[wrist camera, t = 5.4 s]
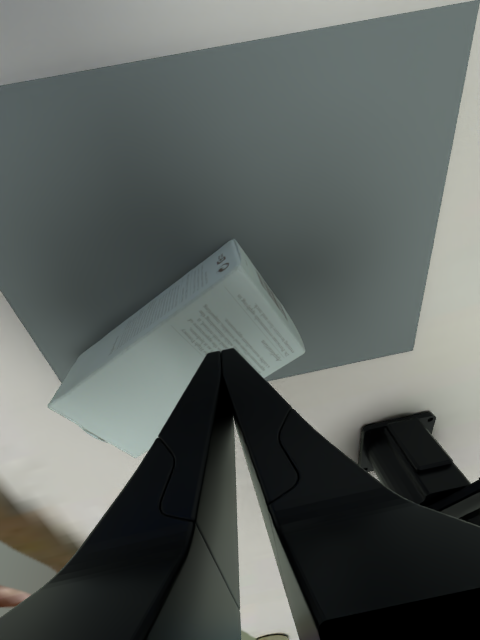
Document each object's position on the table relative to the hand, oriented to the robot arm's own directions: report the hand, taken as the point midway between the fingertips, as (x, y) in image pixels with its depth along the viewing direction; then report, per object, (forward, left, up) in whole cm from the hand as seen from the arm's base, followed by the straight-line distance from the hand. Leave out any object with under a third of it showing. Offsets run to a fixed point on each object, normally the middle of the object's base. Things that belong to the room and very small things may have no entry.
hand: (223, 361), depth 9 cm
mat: (0, -1, -8) cm, 9 cm away
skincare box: (-1, -3, -6) cm, 7 cm away
